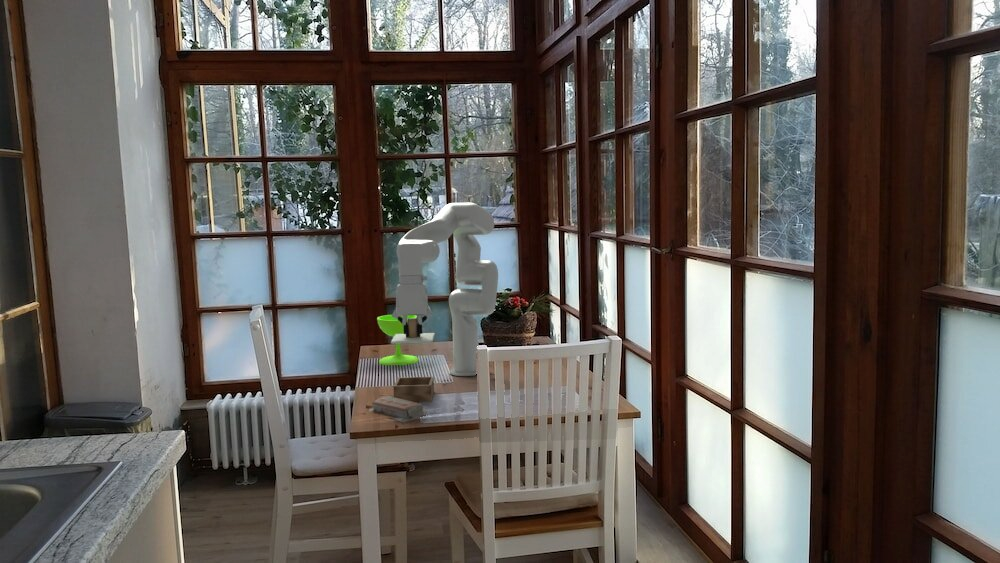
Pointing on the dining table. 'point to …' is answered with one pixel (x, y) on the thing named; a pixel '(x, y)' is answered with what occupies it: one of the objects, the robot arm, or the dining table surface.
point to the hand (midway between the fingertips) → (413, 335)
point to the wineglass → (392, 328)
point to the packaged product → (398, 408)
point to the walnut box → (414, 388)
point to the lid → (413, 335)
